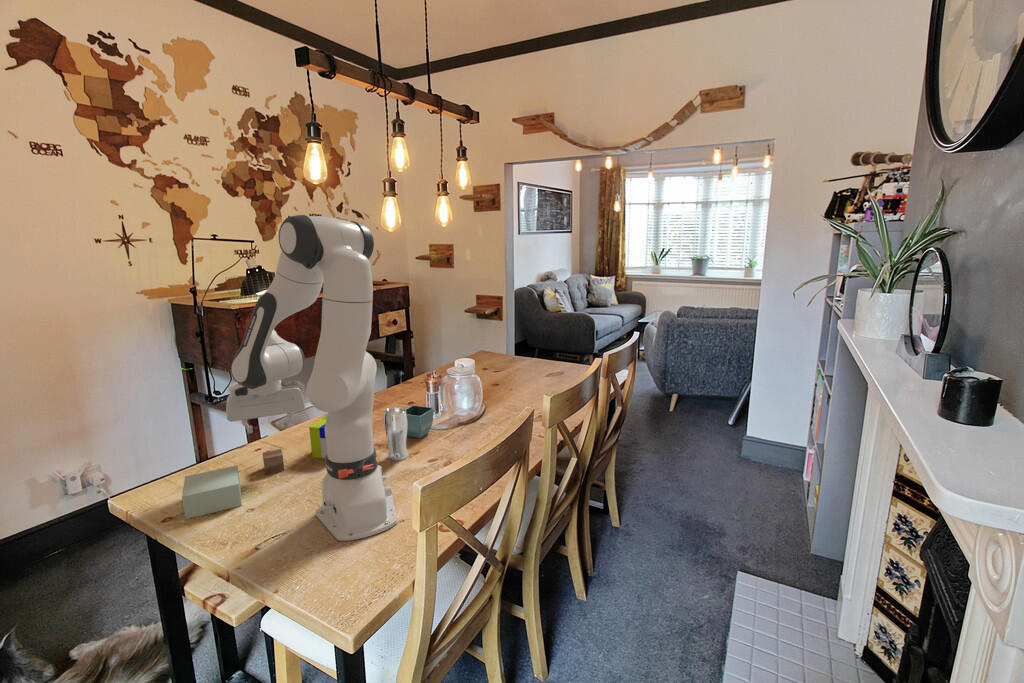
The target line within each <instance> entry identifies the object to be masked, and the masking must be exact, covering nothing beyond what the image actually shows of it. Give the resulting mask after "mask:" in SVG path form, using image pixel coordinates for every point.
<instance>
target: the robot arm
mask: <svg viewBox="0 0 1024 683" xmlns="http://www.w3.org/2000/svg"><path fill="white" fill-rule="evenodd" d="M278 243H279V247H280V250H281V251H280V254H279V258H278V261H277V266H276V270H275V274H274V276H273V280H272V282H271V283H270V284H269V287H268V288H267V290H266V291H265V292H264V293H263V294H262V295H260V297H258V299H257V300H256V303H255V305H254V307H253V310H252V313H251V315H250V318H249V321H248V324H247V327H246V329H245V333H244V335H243V338H242V340H241V343H240V346H239V348H238V349H237V352H236V353H235V355H234V356H233V359H232V362H231V363H230V373H231V376H232V378H233V380H234V381H235V382H233V383H231V384H229V387H228V393H229V395H228V396H227V398H226V405H225V406H226V410H225V411H226V412H225V413H226V415H225V416H226V420H228V421H229V422H238V421H241V424H242V426H243V427H244V428H245V429H246V431H247V432H246V433H247V435H249V434H253V433H254V429H253V425H249V424H248V420H253V419H258V418H259V419H260V418H265V417H273V416H278V415H285V414H286V416H287V417H286V419H285V420H282V425H283V429H286V428H290V421H291V419H292V418H293V414H294V413H298V412H303V411H304V410H305V407H306V405H305V404H306V403H305V400H304V399H305V398H304V396H303V394H304V392H306V397H307V399H308V401H309V403H310V404H311V405H312V406H313V407H314V408H315V409H317V410H318V411H321V412H324V413H327V415H326V416H327V420H326V423H325V437H326V448H327V455H326V458H325V468H326V475H325V476H324V477H323V479H322V480H321V481H320V484H321V486H320V487H321V500H322V502H321V503H322V504H321V506H319V507H318V508H317V509H316V510H315V517H317V518H318V520H320V522H321V523H322V524H323V525H324V526H325V528H326V529H327V530H328V531H329V532H330V533H331V534H332V535H333V537H334V538H335V539H336V540H337V541H341V542H342V541H343V542H344V541H347V542H348V541H355V540H359V539H363V538H368V537H370V536H374V535H377V534H379V533H382V532H385V531H387V530H389V529H392V527H394V526H395V525H397V524H398V517H397V511H396V507H395V501H394V496H393V493H392V487H391V485H388V486H385V485H384V482H387V475H383V471H382V466H381V465H379V464H378V455H377V451H376V448H375V447H374V446H375V445H374V431H373V411H374V399H375V386H376V385H375V384H376V383H375V382H376V381H375V380H376V374H377V372H378V370H377V368H378V367H377V366H378V365H377V361H376V360H375V358H374V357H373V355H372V354H371V353H369V352H367V347H368V342H369V340H370V336H371V333H372V319H373V303H374V302H373V299H374V297H373V296H374V288H373V287H374V286H373V284H374V283H373V273H372V267H371V262H370V258H371V257H372V255H373V252H374V247H375V242H374V236H373V234H372V232H371V230H370V229H369V227H368V226H366V225H365V224H362V223H359V221H358V222H357V221H353V220H350V221H349V220H344V219H339V218H334V217H331V216H321V215H319V216H318V215H309V216H308V215H305V214H297V215H291V216H289V217H285V219H284V220H283V221H282V223H281V224H280V227H279V230H278ZM321 292H322V300H321V302H322V305H321V328H320V329H321V330H320V336H319V339H318V340H319V341H318V344H317V349H316V353H315V357H314V363H313V367H312V372H311V374H310V377H309V379H308V380H307V383H306V388H305V385H304V383H303V382H302V381H299V380H293V381H282V380H285V379H288V378H291V377H295V376H297V375H299V374H301V373H302V371H303V370H304V368H305V364H306V363H305V361H306V358H305V354H304V351H303V349H302V348H301V347H300V346H298V345H297V344H296V343H293V342H290V341H287V340H285V339H283V338H282V337H281V336H279V334H278V333H277V331H276V330H275V328H276V327H277V325H279V323H281V322H282V321H284V320H285V319H286V318H288V317H290V316H293V315H294V314H296V313H298V312H301V311H302V310H305V309H307V308H309V307H311V305H313V304H314V303H315V302H316V301H317V299H318V297H319V295H320V294H321Z"/></svg>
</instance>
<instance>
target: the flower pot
mask: <svg viewBox="0 0 1024 683" xmlns="http://www.w3.org/2000/svg"><path fill="white" fill-rule="evenodd" d="M405 409H406V413H407V420H408V431H407V437H411V438H417V439H421V438H423V437H424V436H425V435H427V434H428V433H429V432H430V430H431V428H432V425H433V422H434V413H435V412H434V410H435V408H434V407H430V406H423V405H414V404H413V405H410V406H409V407H407V408H405Z"/></svg>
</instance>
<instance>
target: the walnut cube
mask: <svg viewBox="0 0 1024 683" xmlns="http://www.w3.org/2000/svg"><path fill="white" fill-rule="evenodd" d="M262 460H263V467H264V474H265V475H269V474H270V475H271V474H275V473H280V472H283V471H285V465H284V464H285V462H284V455H283V451H282V448H277V449H272V450H268V451H263V452H262Z"/></svg>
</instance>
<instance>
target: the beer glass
mask: <svg viewBox="0 0 1024 683" xmlns="http://www.w3.org/2000/svg"><path fill="white" fill-rule="evenodd" d="M406 409H407V408H404V407H400V406H397V407H396V406H395V407H390V408H386V409H385V410H384V411H383V416H384V419H383V421H384V423H383V424H384V431H385V436H386V439H387V445H388V453H387V458H388V460H390V461H395V462H396V461H403V460H406V459H407V458H408V457H409V452H408V448H407V438H408V435H407V431H408V420H407V413H406Z"/></svg>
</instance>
